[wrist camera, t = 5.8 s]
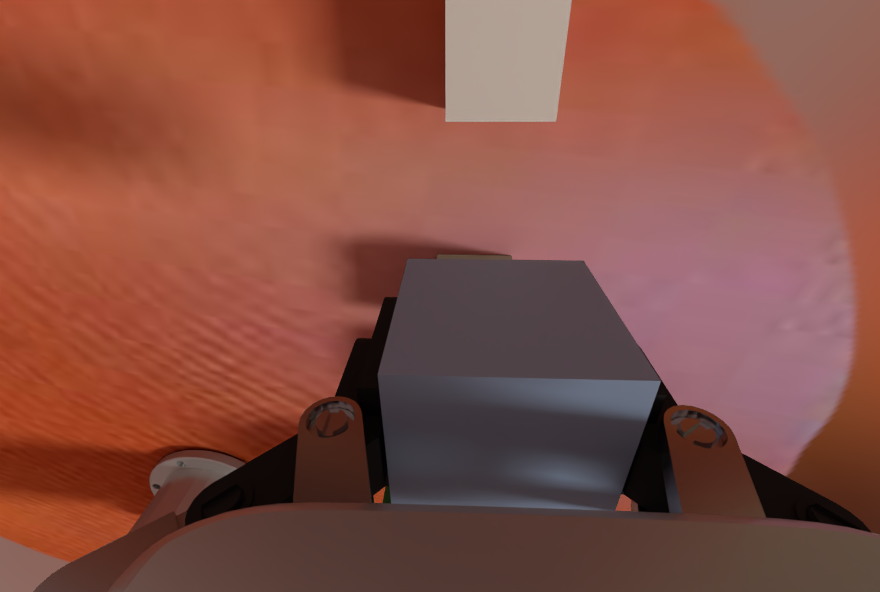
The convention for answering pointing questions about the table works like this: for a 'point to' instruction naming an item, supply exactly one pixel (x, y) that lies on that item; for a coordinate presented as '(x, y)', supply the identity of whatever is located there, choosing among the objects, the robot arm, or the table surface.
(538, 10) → the cream block
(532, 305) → the slate block
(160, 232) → the table surface
